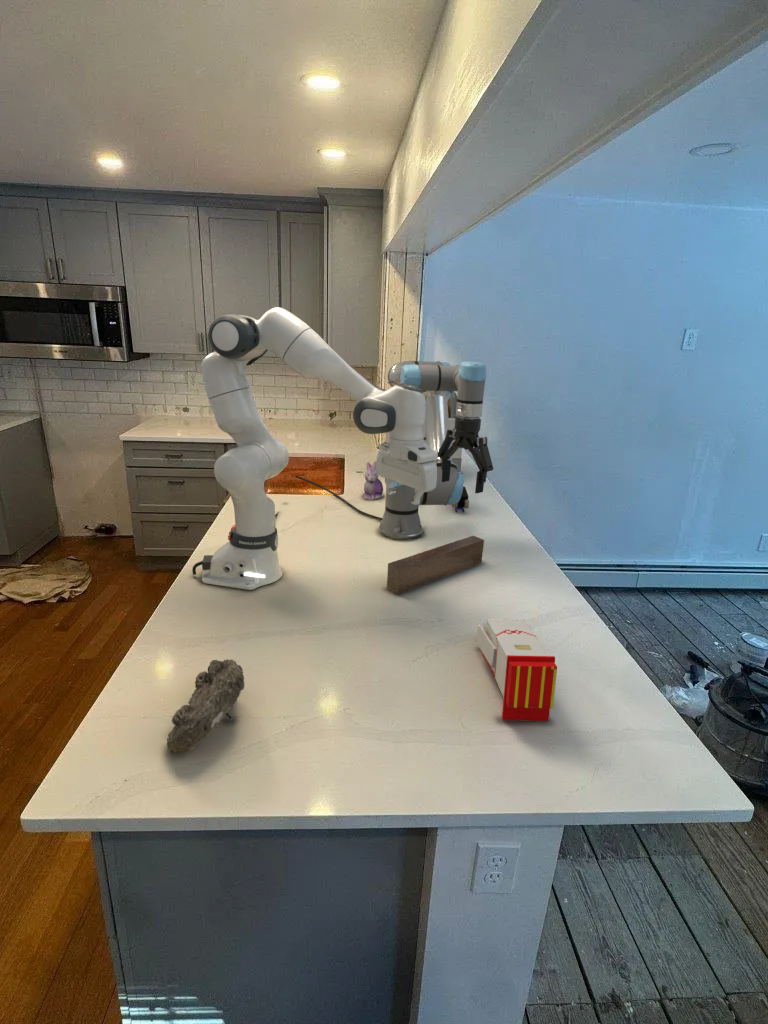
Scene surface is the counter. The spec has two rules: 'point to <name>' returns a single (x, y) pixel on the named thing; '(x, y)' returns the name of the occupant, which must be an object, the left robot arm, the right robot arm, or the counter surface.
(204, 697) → the fossil
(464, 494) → the figurine character
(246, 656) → the counter surface
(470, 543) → the walnut beam
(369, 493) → the figurine
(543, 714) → the toy
